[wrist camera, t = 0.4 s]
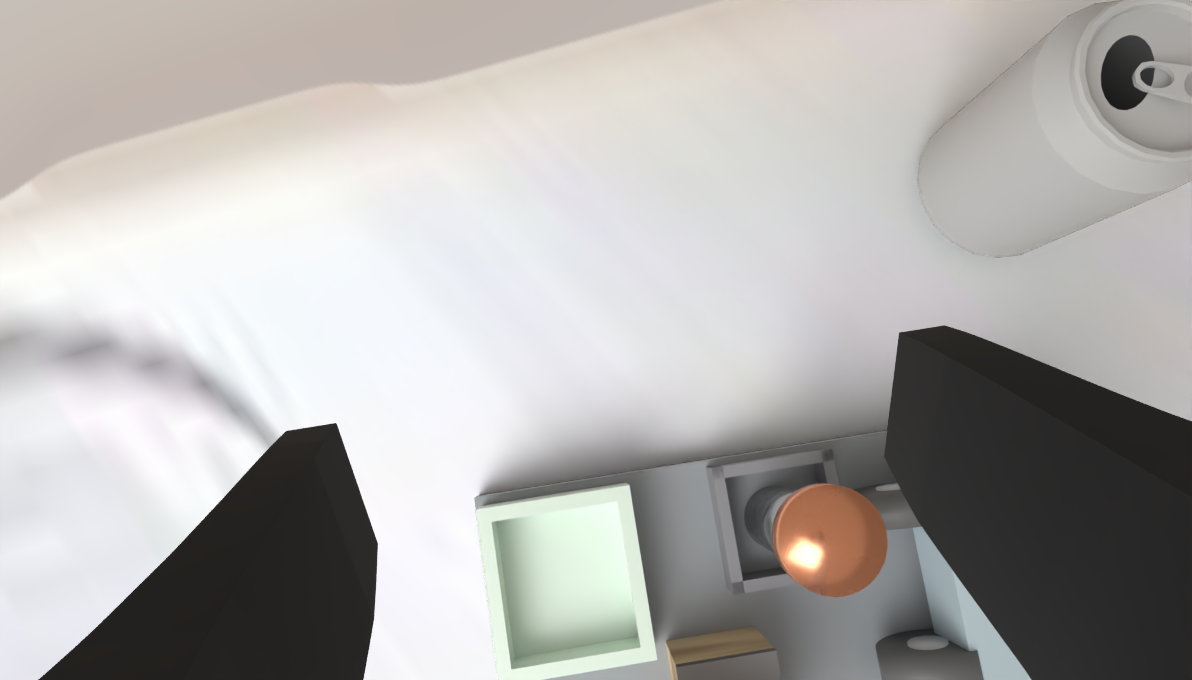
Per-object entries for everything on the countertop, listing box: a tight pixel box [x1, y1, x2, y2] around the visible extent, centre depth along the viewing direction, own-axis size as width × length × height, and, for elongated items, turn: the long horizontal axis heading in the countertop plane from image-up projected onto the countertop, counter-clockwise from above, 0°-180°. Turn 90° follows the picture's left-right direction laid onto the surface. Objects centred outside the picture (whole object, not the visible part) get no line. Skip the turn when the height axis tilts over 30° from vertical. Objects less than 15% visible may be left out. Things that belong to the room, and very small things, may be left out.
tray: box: [475, 482, 657, 680], centre depth 32 cm, size 7×7×2 cm
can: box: [917, 0, 1192, 258], centre depth 32 cm, size 8×8×12 cm
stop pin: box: [744, 483, 888, 597], centre depth 30 cm, size 4×4×8 cm
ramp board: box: [475, 430, 934, 680], centre depth 33 cm, size 12×24×3 cm, turn 99°
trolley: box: [854, 482, 1031, 680], centre depth 31 cm, size 10×7×5 cm
